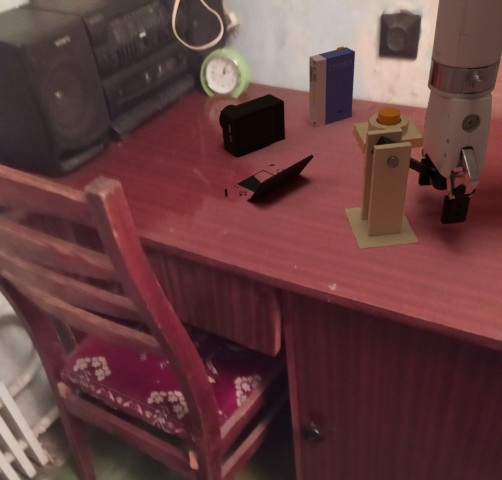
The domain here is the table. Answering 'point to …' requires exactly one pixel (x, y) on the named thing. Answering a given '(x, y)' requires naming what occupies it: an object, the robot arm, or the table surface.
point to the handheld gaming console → (271, 179)
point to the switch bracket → (383, 193)
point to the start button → (389, 116)
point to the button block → (405, 124)
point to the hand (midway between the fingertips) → (440, 202)
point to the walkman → (331, 86)
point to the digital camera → (252, 124)
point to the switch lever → (421, 168)
